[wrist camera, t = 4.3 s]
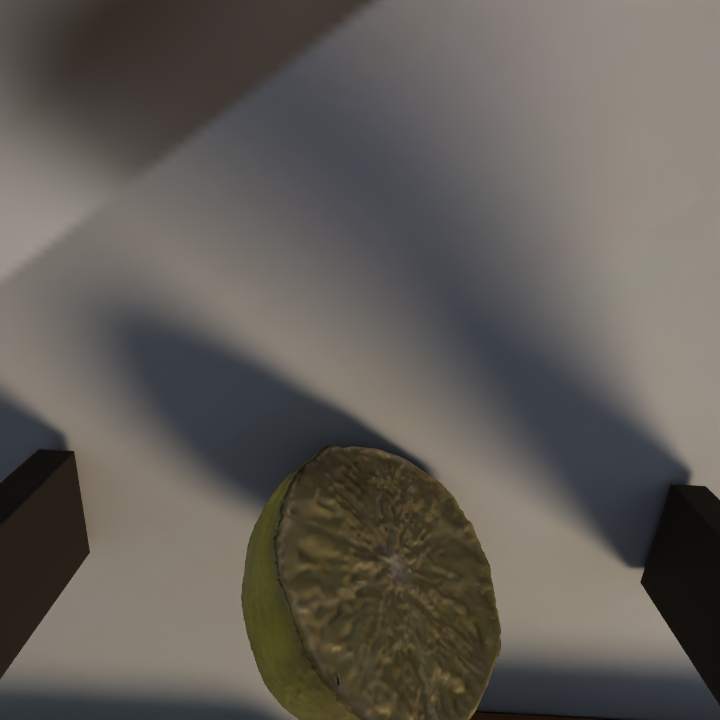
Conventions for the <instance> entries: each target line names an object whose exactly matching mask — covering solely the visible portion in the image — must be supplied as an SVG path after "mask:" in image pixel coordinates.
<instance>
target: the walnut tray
mask: <svg viewBox="0 0 720 720" xmlns="http://www.w3.org/2000/svg"><path fill="white" fill-rule="evenodd" d="M469 720H604V719H586V718H568V717H550V716H532V715H515V714H497V713H479V712H474V714H473V715H472V716H471V718H470V719H469Z"/></svg>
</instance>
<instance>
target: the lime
mask: <svg viewBox="0 0 720 720" xmlns="http://www.w3.org/2000/svg"><path fill="white" fill-rule="evenodd" d="M241 600H242V609H243V615H244V620H245V624H246V630H247V635H248V638H249V641H250V645H251V649H252V651H253V654H254V657H255V660H256V663H257V667H258V669H259V672H260V674H261V676H262V679H263V681H264V683H265V685H266V686H267V688H268V689H269V691H270V692H271V693H272V694H273V696H274V697H275V698H276V699H277V701H278V702H279V703H280V704H281V705H282V707H284V708H285V709H286V710H287V711H288V712H290V713H291V714H293V715H294V716H295V717H297V718H298V719H299V720H469V719H470V718H471V716H472V715H473V714H474V712H475V711H476V709H477V708H478V705H479V703H480V701H481V698H482V696H483V694H484V692H485V689H486V687H487V686H488V684H489V682H490V676H491V673H492V671H493V669H494V666H495V664H496V660H497V657H498V656H499V653H500V649H501V640H500V634H501V629H500V623H499V617H498V611H497V608H496V599H495V596H494V587H493V584H492V579H491V570H490V565H489V563H488V560H487V558H486V556H485V553H484V552H483V551H482V549H481V545H480V542H479V540H478V539H477V536H476V533H475V530H474V528H473V525H472V523H471V522H470V521H468V520H467V519H466V518H465V516H464V513H463V511H462V510H461V509H460V508H459V505H458V503H457V502H456V500H455V498H454V497H453V496H452V495H451V493H450V492H448V491H447V489H446V488H445V487H444V486H443V485H442V484H441V483H440V482H438V481H437V480H436V479H435V478H433V477H432V476H430V475H429V474H427V473H425V472H424V471H422V470H421V469H419V468H418V467H417V466H415V465H414V464H412V463H411V462H409V461H408V460H406V459H404V458H402V457H400V456H397V455H395V454H392V453H389V452H385V451H383V450H381V449H375V448H366V447H356V446H347V447H346V448H342V447H340V448H339V447H338V446H337V445H332V446H327V447H325V448H324V449H322V450H321V451H319V452H318V453H317V454H315V455H314V456H313V457H311V458H310V459H309V460H308V461H307V462H305V463H304V464H303V465H302V466H300V467H299V468H298V469H297V470H295V471H294V472H293V473H292V474H290V475H289V476H287V478H285V479H284V480H283V482H282V483H281V484H280V485H279V486H278V488H277V489H276V491H275V492H274V493H273V494H272V496H271V497H270V499H269V501H268V502H267V504H266V506H265V508H264V510H263V511H262V513H261V515H260V517H259V519H258V521H257V522H256V524H255V526H254V529H253V532H252V535H251V537H250V540H249V544H248V548H247V555H246V561H245V572H244V578H243V584H242V595H241Z"/></svg>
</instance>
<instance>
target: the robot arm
mask: <svg viewBox="0 0 720 720" xmlns="http://www.w3.org/2000/svg"><path fill="white" fill-rule="evenodd" d="M89 553H90V551H89V544H88V538H87V532H86V525H85V519H84V512H83V506H82V500H81V493H80V487H79V480H78V474H77V468H76V461H75V455H74V451H61V450H43V449H39V450H38V451H36V452H35V453H34V454H33V455H32V456H31V457H30V458H28V459H27V460H26V461H25V462H24V463H23V464H22V465H21V466H19V467H18V468H17V469H16V470H15V471H14V472H13V473H11V474H10V475H9V476H8V477H7V478H6V479H5V480H3V481H2V482H1V483H0V679H1V677H2V676H3V674H4V673H5V672H6V670H7V669H8V667H9V666H10V664H11V663H12V662H13V660H14V659H15V657H16V656H17V655H18V653H19V652H20V650H21V649H22V648H23V646H24V645H25V643H26V642H27V640H28V639H29V638H30V636H31V635H32V633H33V632H34V631H35V629H36V628H37V626H38V625H39V624H40V622H41V621H42V619H43V618H44V616H45V615H46V614H47V612H48V611H49V609H50V608H51V607H52V605H53V604H54V602H55V601H56V599H57V598H58V597H59V595H60V594H61V592H62V591H63V590H64V588H65V587H66V585H67V584H68V583H69V581H70V580H71V578H72V577H73V575H74V574H75V573H76V571H77V570H78V568H79V567H80V566H81V564H82V563H83V561H84V560H85V558H86V557H87V556H88V554H89ZM641 584H642V586H643V587H644V589H645V590H646V592H647V593H648V595H649V596H650V598H651V600H652V601H653V603H654V604H655V606H656V607H657V609H658V610H659V612H660V614H661V615H662V617H663V618H664V620H665V621H666V623H667V624H668V626H669V628H670V629H671V631H672V632H673V634H674V635H675V637H676V638H677V640H678V641H679V643H680V645H681V646H682V648H683V649H684V651H685V652H686V654H687V655H688V657H689V659H690V660H691V662H692V663H693V665H694V666H695V668H696V669H697V671H698V673H699V674H700V676H701V677H702V679H703V680H704V682H705V683H706V685H707V687H708V688H709V690H710V691H711V693H712V694H713V696H714V697H715V699H716V701H717V702H718V704H719V705H720V500H719V499H718V498H717V497H716V496H715V495H714V494H713V493H712V492H711V491H710V490H709V489H708V488H707V487H706V486H691V485H673V484H671V485H670V489H669V492H668V495H667V498H666V502H665V505H664V508H663V511H662V515H661V518H660V521H659V524H658V527H657V531H656V534H655V537H654V540H653V544H652V547H651V550H650V553H649V556H648V560H647V563H646V566H645V569H644V573H643V576H642V579H641Z"/></svg>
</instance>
